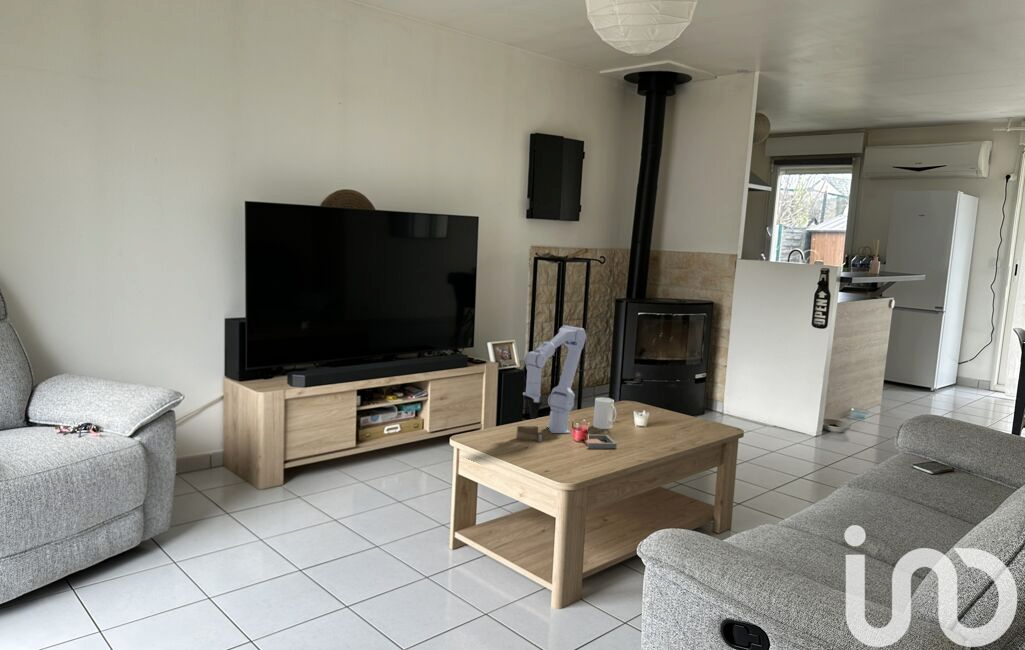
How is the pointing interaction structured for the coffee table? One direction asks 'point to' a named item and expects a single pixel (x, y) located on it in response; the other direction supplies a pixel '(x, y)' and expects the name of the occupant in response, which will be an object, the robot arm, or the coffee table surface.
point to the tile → (592, 441)
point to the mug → (604, 413)
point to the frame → (609, 443)
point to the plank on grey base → (528, 433)
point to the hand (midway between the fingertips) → (531, 415)
